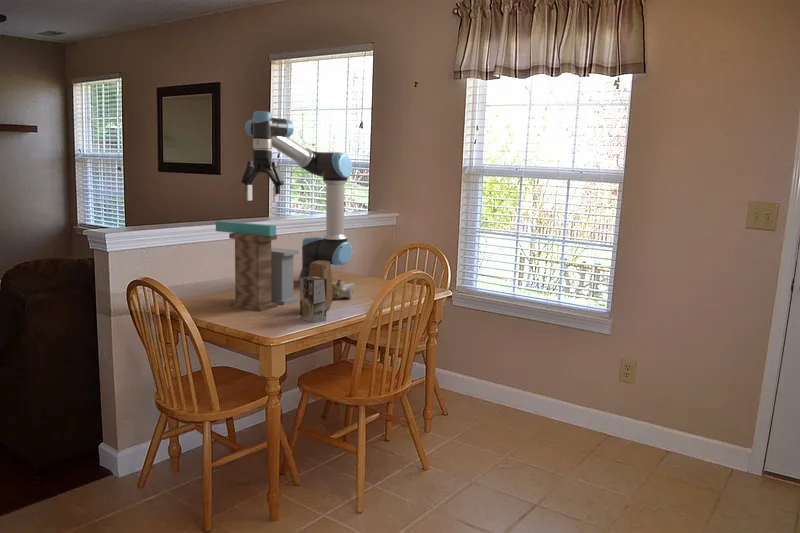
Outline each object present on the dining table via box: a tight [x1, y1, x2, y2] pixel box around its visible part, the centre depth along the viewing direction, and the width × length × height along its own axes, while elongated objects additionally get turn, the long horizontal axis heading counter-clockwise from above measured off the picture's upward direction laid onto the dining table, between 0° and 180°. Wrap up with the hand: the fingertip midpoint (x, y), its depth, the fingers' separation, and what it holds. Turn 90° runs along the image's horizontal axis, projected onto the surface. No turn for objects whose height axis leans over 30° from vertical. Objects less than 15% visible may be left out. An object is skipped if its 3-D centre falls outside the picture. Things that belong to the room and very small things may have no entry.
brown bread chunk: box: [309, 260, 334, 312], centre depth 251 cm, size 11×8×20 cm
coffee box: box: [299, 276, 327, 323], centre depth 235 cm, size 9×6×16 cm
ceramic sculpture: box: [332, 279, 356, 300], centre depth 275 cm, size 11×9×15 cm
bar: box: [215, 220, 277, 236], centre depth 251 cm, size 28×4×4 cm, turn 63°
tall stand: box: [228, 232, 278, 312], centre depth 252 cm, size 16×10×30 cm, turn 63°
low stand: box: [271, 247, 300, 305], centre depth 266 cm, size 16×10×22 cm, turn 63°
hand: (262, 201), depth 259 cm, fingers open, 13 cm apart
